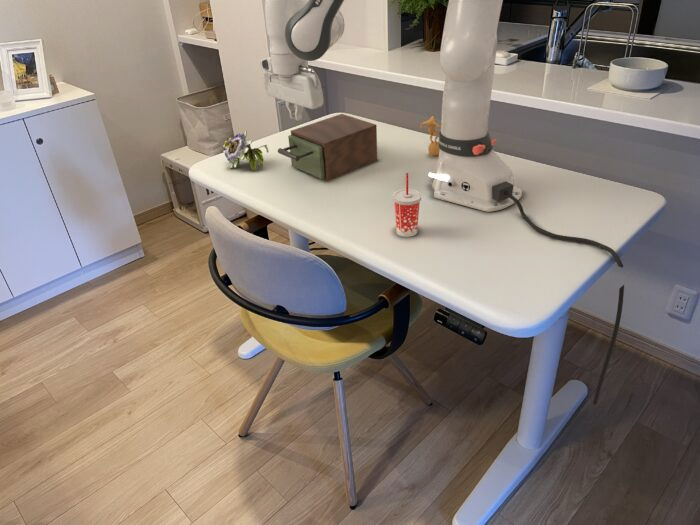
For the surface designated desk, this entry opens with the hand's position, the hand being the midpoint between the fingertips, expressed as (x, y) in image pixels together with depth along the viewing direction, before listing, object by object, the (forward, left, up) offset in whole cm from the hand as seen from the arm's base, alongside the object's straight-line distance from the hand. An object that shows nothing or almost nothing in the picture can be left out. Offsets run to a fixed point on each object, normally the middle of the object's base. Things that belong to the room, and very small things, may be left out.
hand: (296, 119), depth 140 cm
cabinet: (0, -12, -16) cm, 20 cm away
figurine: (-17, -34, -16) cm, 41 cm away
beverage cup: (-41, +2, -16) cm, 44 cm away
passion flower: (+19, +6, -16) cm, 26 cm away
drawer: (0, -7, -15) cm, 17 cm away
